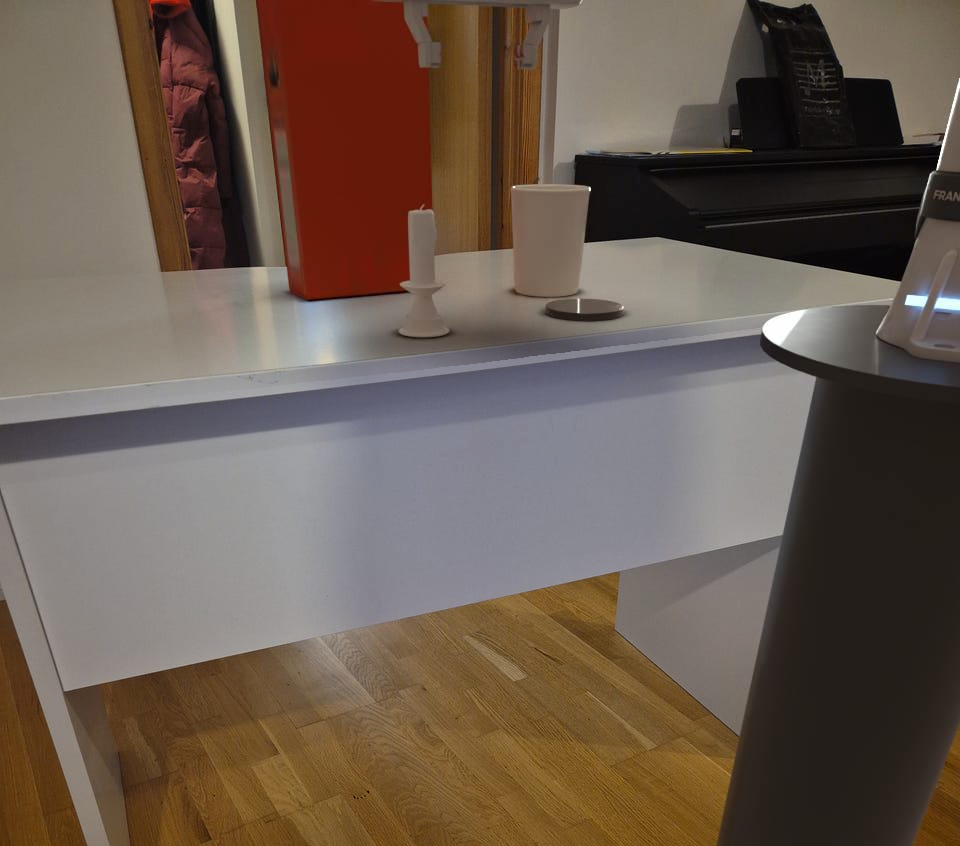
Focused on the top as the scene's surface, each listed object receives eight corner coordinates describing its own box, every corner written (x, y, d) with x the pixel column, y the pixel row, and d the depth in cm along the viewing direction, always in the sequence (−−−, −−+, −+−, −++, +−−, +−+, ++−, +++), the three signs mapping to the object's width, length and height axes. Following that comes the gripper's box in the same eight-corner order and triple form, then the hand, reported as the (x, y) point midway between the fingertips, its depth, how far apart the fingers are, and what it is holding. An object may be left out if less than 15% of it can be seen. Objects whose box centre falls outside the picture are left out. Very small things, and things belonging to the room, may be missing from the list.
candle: (440, 325, 91) (437, 201, 84) (456, 336, 87) (454, 206, 80) (392, 329, 89) (386, 203, 83) (406, 339, 85) (401, 207, 79)
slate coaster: (637, 312, 97) (638, 305, 97) (592, 324, 92) (592, 316, 91) (576, 302, 102) (576, 295, 102) (529, 313, 97) (529, 305, 96)
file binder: (288, 291, 109) (253, -21, 92) (409, 280, 116) (397, -11, 99) (308, 301, 103) (275, -30, 86) (435, 289, 110) (427, -19, 93)
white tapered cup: (513, 283, 114) (515, 183, 107) (586, 286, 112) (592, 184, 106) (503, 297, 105) (505, 189, 99) (581, 299, 104) (588, 190, 98)
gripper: (366, -163, 62) (380, 64, 69) (603, -136, 69) (593, 67, 76) (342, -141, 67) (357, 68, 74) (566, -118, 74) (559, 71, 81)
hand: (478, 68), depth 75 cm, fingers open, 8 cm apart
